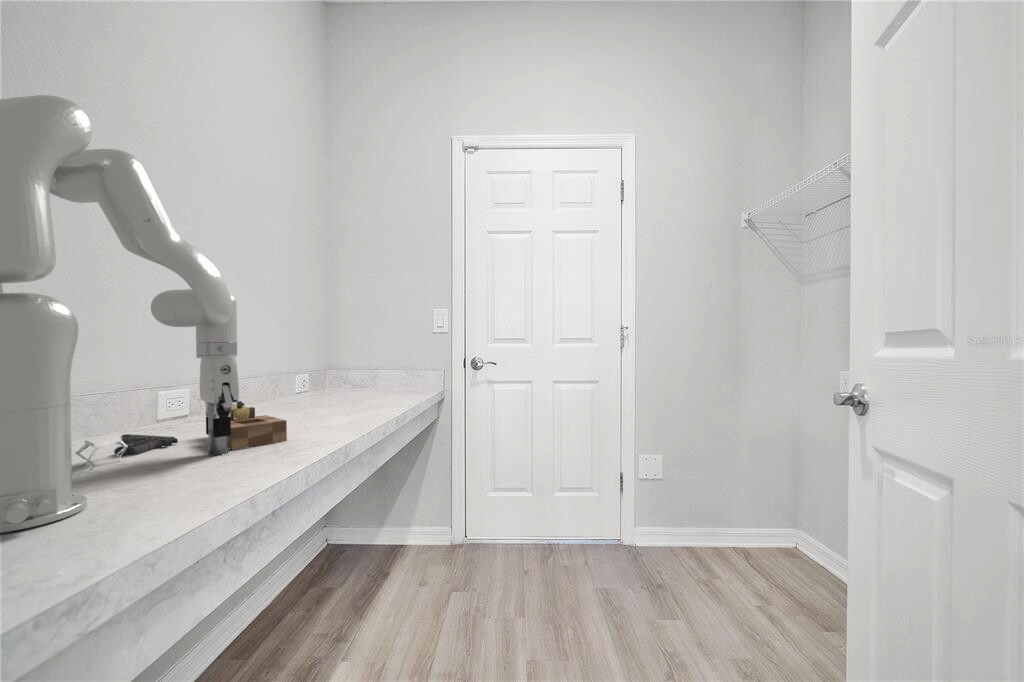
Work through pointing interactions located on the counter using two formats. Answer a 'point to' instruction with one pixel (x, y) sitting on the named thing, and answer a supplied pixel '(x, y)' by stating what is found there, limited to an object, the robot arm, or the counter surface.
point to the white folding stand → (100, 443)
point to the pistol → (143, 443)
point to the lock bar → (240, 410)
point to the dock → (256, 430)
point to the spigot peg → (215, 444)
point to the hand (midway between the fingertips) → (218, 434)
